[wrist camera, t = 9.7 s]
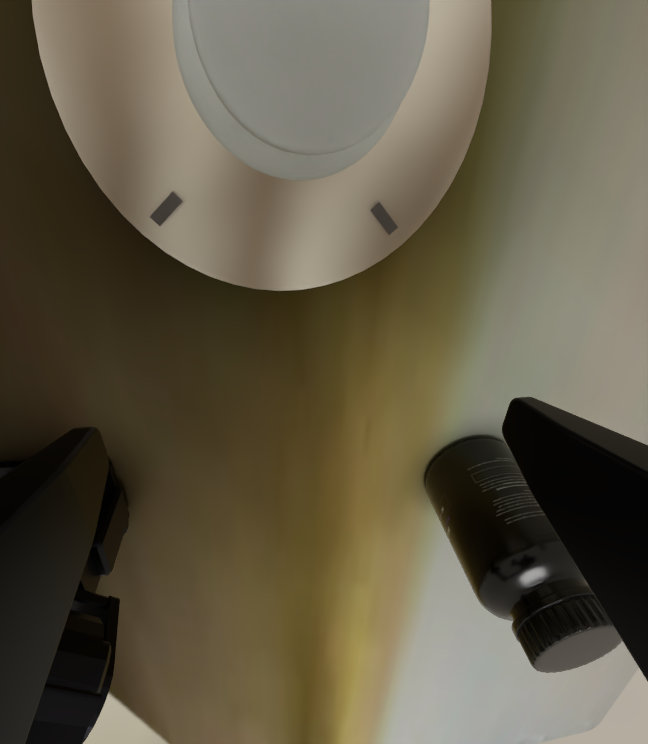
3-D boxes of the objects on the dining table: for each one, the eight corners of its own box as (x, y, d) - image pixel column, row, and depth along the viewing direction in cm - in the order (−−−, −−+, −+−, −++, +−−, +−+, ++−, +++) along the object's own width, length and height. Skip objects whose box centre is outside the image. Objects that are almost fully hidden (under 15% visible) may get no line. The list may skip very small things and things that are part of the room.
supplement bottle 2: (404, 490, 29) (484, 680, 19) (461, 422, 27) (588, 602, 17) (472, 510, 32) (573, 687, 22) (530, 449, 29) (677, 621, 19)
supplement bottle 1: (353, 159, 16) (453, 188, 8) (220, 169, 16) (186, 211, 8) (350, -22, 13) (498, -251, 5) (187, -17, 13) (79, -264, 5)
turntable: (100, 282, 18) (94, 289, 17) (-42, -350, 10) (-67, -390, 9) (433, 287, 21) (439, 293, 20) (540, -206, 12) (559, -227, 12)
